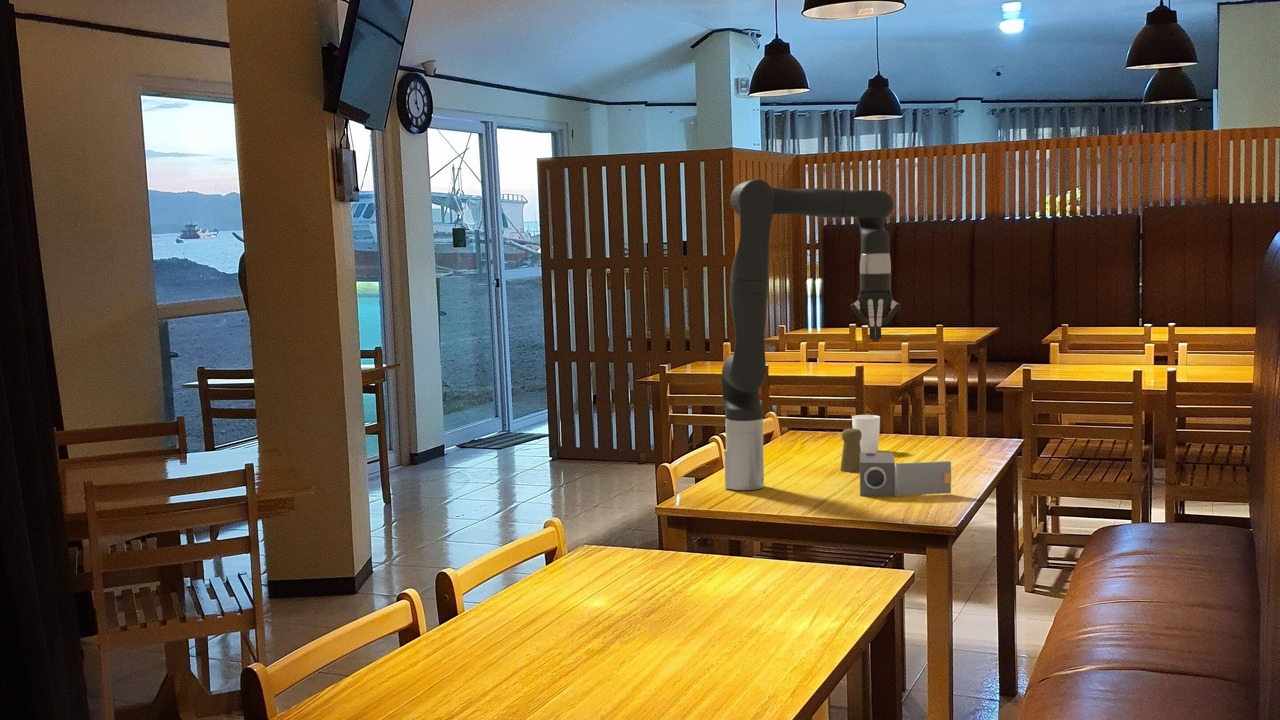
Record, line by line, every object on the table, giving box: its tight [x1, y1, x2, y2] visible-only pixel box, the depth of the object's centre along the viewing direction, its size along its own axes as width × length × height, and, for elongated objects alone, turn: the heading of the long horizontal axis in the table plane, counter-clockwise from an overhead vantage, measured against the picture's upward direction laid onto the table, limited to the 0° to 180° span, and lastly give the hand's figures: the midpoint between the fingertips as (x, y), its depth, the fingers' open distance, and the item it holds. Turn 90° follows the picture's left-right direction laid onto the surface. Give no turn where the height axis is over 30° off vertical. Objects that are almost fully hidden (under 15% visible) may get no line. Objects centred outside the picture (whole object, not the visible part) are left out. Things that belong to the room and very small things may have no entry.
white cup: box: [851, 414, 881, 452], centre depth 340 cm, size 8×8×10 cm
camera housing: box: [859, 451, 896, 497], centre depth 286 cm, size 8×15×9 cm, turn 170°
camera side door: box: [895, 460, 952, 496], centre depth 279 cm, size 2×14×8 cm, turn 96°
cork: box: [839, 427, 862, 473], centre depth 312 cm, size 6×6×11 cm
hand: (875, 341), depth 296 cm, fingers closed
